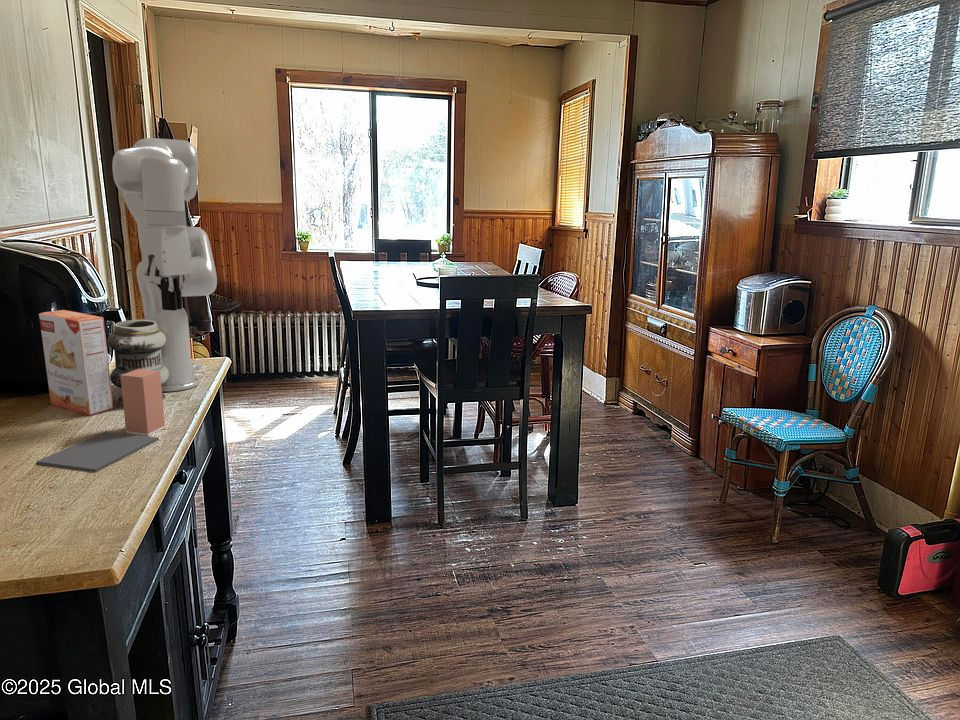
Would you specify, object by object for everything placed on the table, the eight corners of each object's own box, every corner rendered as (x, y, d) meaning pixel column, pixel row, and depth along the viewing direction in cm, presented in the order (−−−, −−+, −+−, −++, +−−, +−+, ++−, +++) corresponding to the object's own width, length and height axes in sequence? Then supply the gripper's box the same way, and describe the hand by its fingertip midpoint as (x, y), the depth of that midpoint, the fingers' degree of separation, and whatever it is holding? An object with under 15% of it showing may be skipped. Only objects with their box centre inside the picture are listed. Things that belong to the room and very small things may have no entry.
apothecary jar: (133, 411, 144) (126, 330, 140) (100, 400, 150) (93, 323, 146) (182, 397, 154) (176, 322, 150) (149, 388, 160) (143, 315, 156)
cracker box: (48, 405, 146) (36, 312, 141) (75, 398, 151) (65, 308, 146) (87, 417, 140) (76, 319, 134) (114, 409, 145) (105, 315, 140)
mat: (105, 433, 131) (105, 431, 130) (158, 440, 128) (158, 437, 128) (36, 464, 115) (36, 461, 115) (95, 472, 113) (95, 469, 113)
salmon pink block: (143, 425, 136) (138, 368, 133) (164, 427, 135) (160, 371, 132) (126, 433, 131) (120, 375, 128) (148, 435, 130) (142, 377, 127)
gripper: (173, 218, 142) (180, 302, 146) (122, 220, 127) (131, 314, 132) (205, 219, 140) (210, 305, 145) (156, 221, 126) (164, 316, 130)
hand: (172, 309), depth 138 cm, fingers closed
